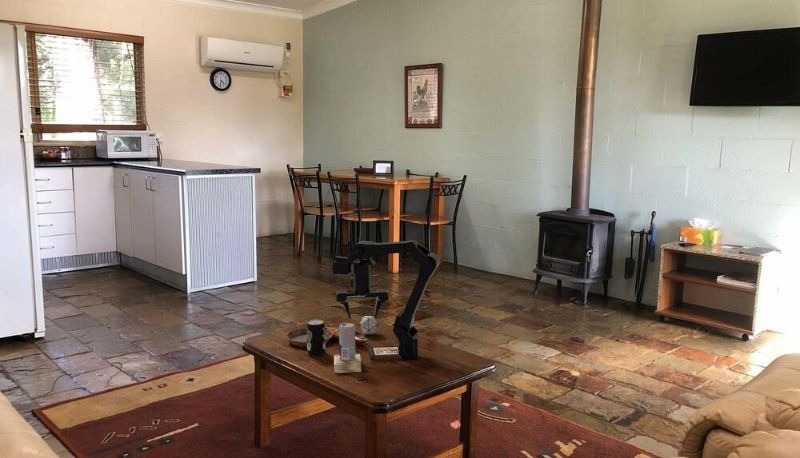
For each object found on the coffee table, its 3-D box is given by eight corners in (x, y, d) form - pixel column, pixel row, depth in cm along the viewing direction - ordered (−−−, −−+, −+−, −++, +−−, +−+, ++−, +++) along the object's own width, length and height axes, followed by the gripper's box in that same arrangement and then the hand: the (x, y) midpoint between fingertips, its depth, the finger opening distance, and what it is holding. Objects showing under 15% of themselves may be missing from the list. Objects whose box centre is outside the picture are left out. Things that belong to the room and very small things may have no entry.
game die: (371, 342, 252) (384, 320, 254) (371, 341, 243) (384, 319, 245) (352, 330, 252) (365, 309, 254) (352, 329, 244) (365, 307, 246)
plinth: (360, 362, 220) (359, 353, 219) (361, 371, 211) (360, 362, 211) (334, 363, 219) (334, 354, 219) (334, 373, 210) (334, 364, 210)
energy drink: (347, 354, 218) (346, 321, 216) (358, 358, 215) (358, 324, 213) (336, 359, 214) (335, 325, 212) (347, 362, 211) (347, 328, 209)
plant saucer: (311, 331, 255) (311, 324, 254) (342, 340, 243) (342, 333, 243) (277, 342, 241) (276, 335, 241) (307, 353, 230) (307, 345, 230)
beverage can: (322, 357, 225) (321, 325, 223) (304, 356, 226) (303, 324, 224) (327, 351, 231) (327, 319, 229) (311, 349, 233) (310, 318, 231)
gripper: (386, 270, 234) (386, 311, 236) (335, 272, 232) (336, 312, 234) (388, 277, 223) (388, 319, 225) (335, 279, 221) (336, 321, 223)
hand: (362, 318), depth 227 cm, fingers open, 9 cm apart
